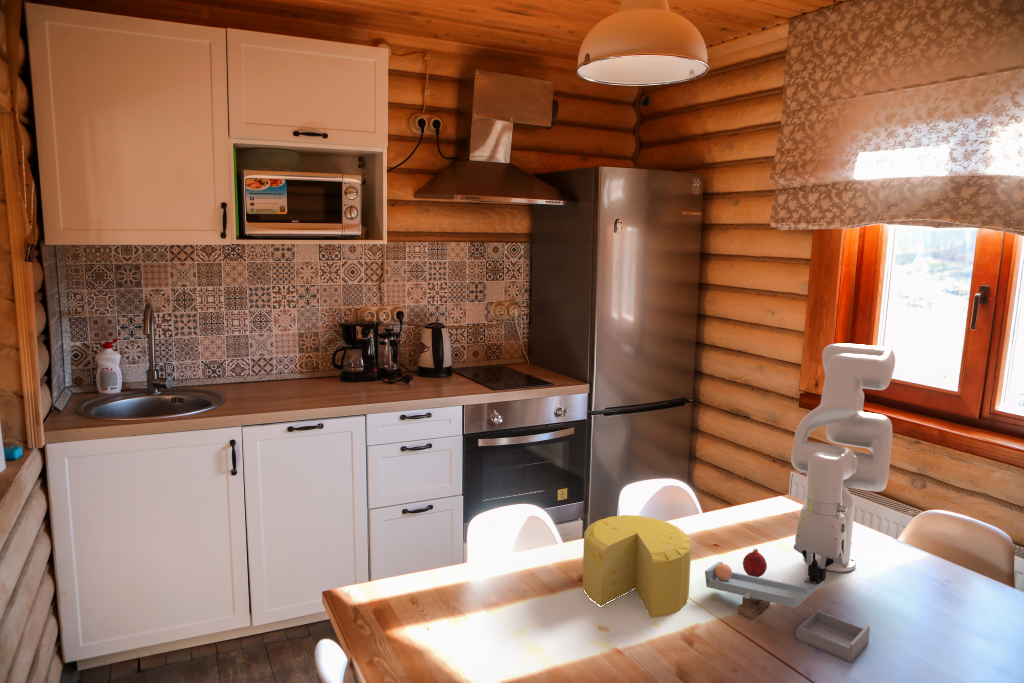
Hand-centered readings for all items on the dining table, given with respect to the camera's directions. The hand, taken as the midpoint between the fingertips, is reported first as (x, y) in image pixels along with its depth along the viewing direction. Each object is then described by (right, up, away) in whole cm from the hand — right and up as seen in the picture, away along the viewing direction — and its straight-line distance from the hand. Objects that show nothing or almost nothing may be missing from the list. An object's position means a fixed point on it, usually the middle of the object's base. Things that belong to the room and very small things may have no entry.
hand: (816, 580), depth 159 cm
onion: (-9, -5, +17) cm, 19 cm away
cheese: (-41, -6, +11) cm, 42 cm away
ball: (-19, -2, +7) cm, 20 cm away
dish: (-1, -9, -11) cm, 14 cm away
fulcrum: (-14, -7, +2) cm, 16 cm away
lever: (-11, -3, +4) cm, 12 cm away
